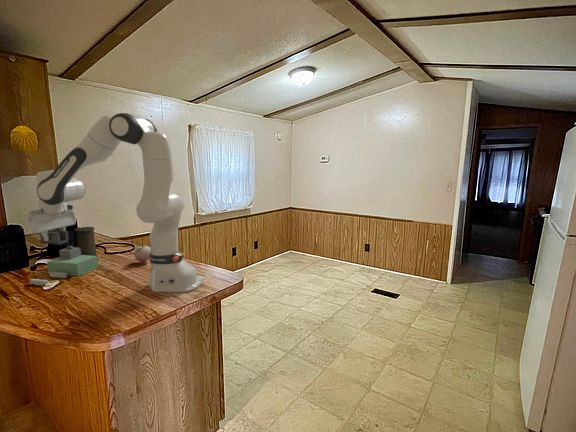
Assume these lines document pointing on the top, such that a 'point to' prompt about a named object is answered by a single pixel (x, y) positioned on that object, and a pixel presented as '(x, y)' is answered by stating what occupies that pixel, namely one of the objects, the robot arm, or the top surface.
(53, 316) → the top surface
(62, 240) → the chute
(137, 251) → the decorative fruit
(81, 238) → the container
